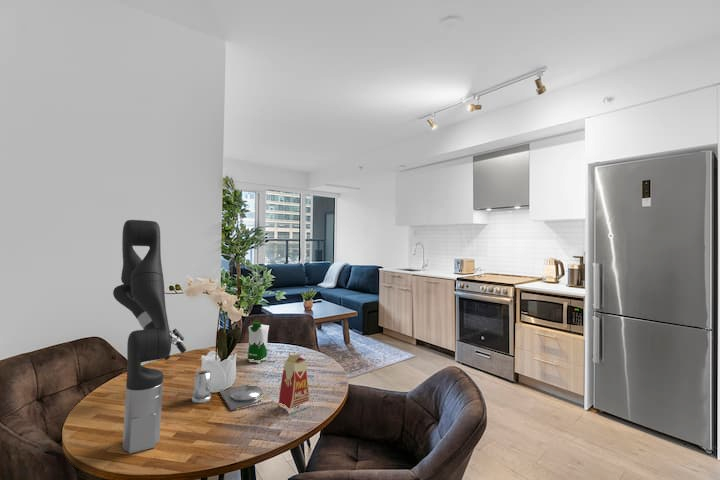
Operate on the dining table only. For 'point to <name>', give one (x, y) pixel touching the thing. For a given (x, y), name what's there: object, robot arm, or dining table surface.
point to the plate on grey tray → (241, 396)
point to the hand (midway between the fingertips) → (176, 354)
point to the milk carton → (294, 382)
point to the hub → (202, 387)
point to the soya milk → (257, 341)
